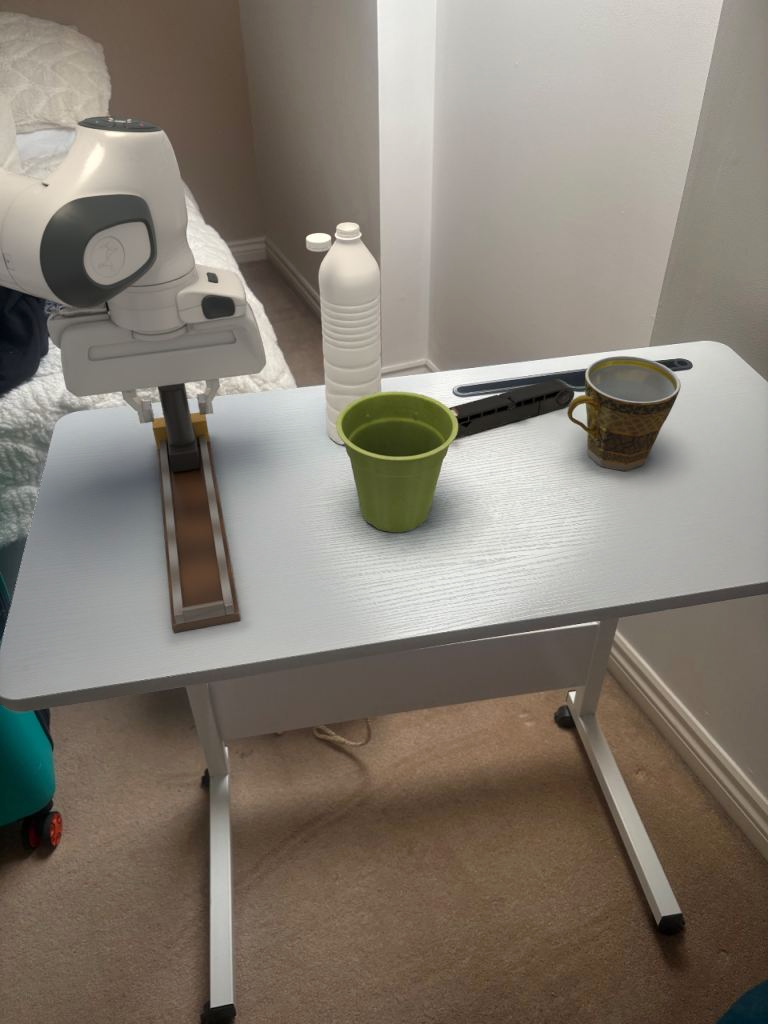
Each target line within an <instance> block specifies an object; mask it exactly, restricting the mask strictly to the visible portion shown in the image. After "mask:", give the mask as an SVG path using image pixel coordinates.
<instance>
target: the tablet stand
mask: <svg viewBox="0 0 768 1024" xmlns="http://www.w3.org/2000/svg"><path fill="white" fill-rule="evenodd" d="M574 399H575V390H574V389H573V388H572V387H571V386H570V385H568V384H567V383H566V382H565V381H563V380H562V379H560V378H553V379H551V380H546V381H542V382H537V383H534V384H530V385H528V386H524V387H520V388H515V389H512V390H508V391H505V392H502V393H500V394H494V395H491V396H487V397H483V398H480V399H476V400H472V401H469V402H464V403H461V404H458V405H454V406H450V407H448V408H449V409H450V410H451V411H452V412H453V413H454V415H455V417H456V418H457V421H458V432H457V435H456V438H455V439H458V438H461V437H465V436H468V435H472V434H476V433H479V432H483V431H486V430H489V429H493V428H496V427H500V426H503V425H507V424H509V423H510V424H511V423H513V422H517V421H521V420H524V419H527V418H534V417H537V416H540V415H544V414H548V413H551V412H554V411H558V410H562V409H565V408H566V407H569V406H570V404H571V402H572V401H573V400H574Z"/></svg>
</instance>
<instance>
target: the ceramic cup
mask: <svg viewBox="0 0 768 1024" xmlns="http://www.w3.org/2000/svg"><path fill="white" fill-rule="evenodd" d="M681 385H682V384H681V380H680V378H679V377H678V375H677V374H676V373H675V372H674V371H673V370H672V369H670V368H669V367H667V366H666V365H664V364H662V363H659V362H657V361H655V360H651V359H648V358H644V357H640V356H639V357H638V356H632V355H631V356H630V355H615V356H609V357H604V358H601V359H598V360H596V361H594V362H592V363H591V364H589V365H588V367H587V368H586V370H585V374H584V394H581V395H579V396H576V397H574V398H573V400H572V402H571V403H570V404H569V405H568V408H567V413H566V414H567V417H568V419H569V420H570V421H571V422H572V423H573V424H574V425H575V424H576V425H577V426H579V427H581V429H583V430H584V431H585V432H586V433H587V449H586V450H587V451H586V453H587V456H588V457H589V458H590V459H591V460H592V461H593V462H595V463H596V464H597V466H599V467H601V468H605V469H612V470H617V471H621V472H626V471H629V470H633V469H635V468H638V467H642V466H643V465H644V464H645V463H646V460H647V459H648V457H649V455H650V453H651V451H652V448H653V446H654V444H655V442H656V440H657V437H658V436H659V434H660V431H661V430H662V427H663V425H664V424H665V422H666V421H667V419H668V417H669V415H670V413H671V411H672V409H673V407H674V405H675V403H676V400H677V398H678V396H679V393H680V391H681V387H682V386H681ZM584 404H585V411H586V425H585V423H583V422H582V421H580V420H578V419H576V418H574V417H573V413H574V411H575V409H576V408H577V407H578V406H581V405H584Z"/></svg>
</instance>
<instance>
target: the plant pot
mask: <svg viewBox="0 0 768 1024" xmlns="http://www.w3.org/2000/svg"><path fill="white" fill-rule="evenodd" d="M449 408H450V407H449V406H448V405H446V404H444V403H443V402H441V401H440V400H437V399H435V398H434V397H431V396H428V395H425V394H419V393H417V392H410V391H398V390H397V391H395V390H394V391H381V392H380V393H375V394H371V395H367V396H364V397H361V398H359V399H357V400H355V401H353V402H351V403H350V404H348V405H347V406H346V407H345V408H344V409H343V410H342V411H341V412H340V414H339V416H338V418H337V422H336V428H337V432H338V435H339V437H340V438H341V440H342V441H343V442H344V443H345V444H344V447H345V451H346V453H347V455H348V457H349V461H350V465H351V470H352V474H353V480H354V484H355V488H356V493H357V498H358V499H357V500H358V503H359V509H360V511H361V512H360V513H361V516H362V517H363V519H364V521H365V522H367V523H368V524H370V525H372V526H374V527H375V528H376V529H378V530H380V531H384V532H389V533H403V532H408V531H412V530H414V529H416V528H417V527H419V525H421V524H422V523H424V522H426V520H428V517H429V514H430V511H431V507H432V503H433V500H434V496H435V492H436V488H437V485H438V481H439V477H440V473H441V469H442V467H443V462H444V459H445V458H446V456H447V455H448V451H449V447H450V445H451V444H452V443H453V442H454V441H455V440H456V439H457V438H456V435H457V432H458V421H457V418H456V417H455V415H454V413H453V412H452V411H451V410H450V409H449Z"/></svg>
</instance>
